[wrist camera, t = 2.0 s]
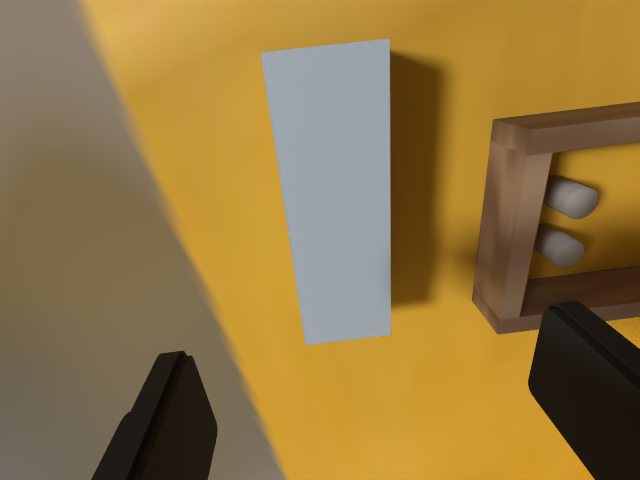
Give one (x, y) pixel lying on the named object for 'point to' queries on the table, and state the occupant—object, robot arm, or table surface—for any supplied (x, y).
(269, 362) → the table surface
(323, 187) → the grey rectangular block
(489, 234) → the frame
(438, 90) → the table surface
